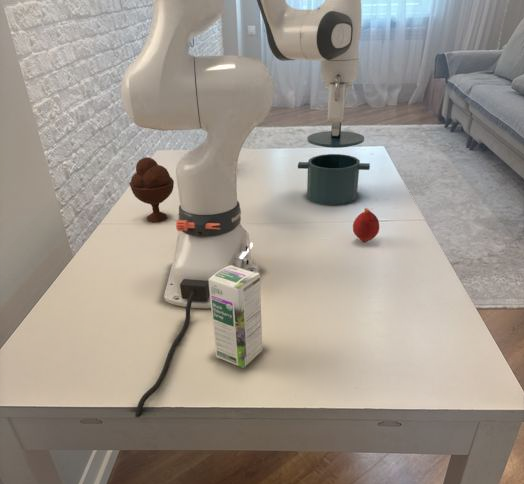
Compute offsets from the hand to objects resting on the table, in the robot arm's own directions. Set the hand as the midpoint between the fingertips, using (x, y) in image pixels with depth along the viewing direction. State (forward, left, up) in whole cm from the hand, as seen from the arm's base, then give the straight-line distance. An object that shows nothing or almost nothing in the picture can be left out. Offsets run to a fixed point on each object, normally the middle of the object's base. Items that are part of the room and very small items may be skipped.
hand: (335, 133), depth 126 cm
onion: (-29, -9, -17) cm, 34 cm away
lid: (0, 0, -2) cm, 2 cm away
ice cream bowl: (-20, +44, -17) cm, 51 cm away
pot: (0, 0, -17) cm, 17 cm away
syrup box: (-74, +11, -17) cm, 76 cm away
